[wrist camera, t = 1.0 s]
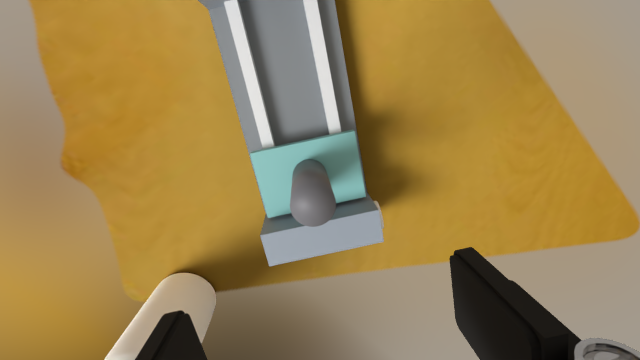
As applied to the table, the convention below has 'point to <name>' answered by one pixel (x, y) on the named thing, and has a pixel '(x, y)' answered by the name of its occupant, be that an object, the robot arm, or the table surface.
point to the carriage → (309, 177)
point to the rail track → (293, 106)
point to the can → (166, 298)
